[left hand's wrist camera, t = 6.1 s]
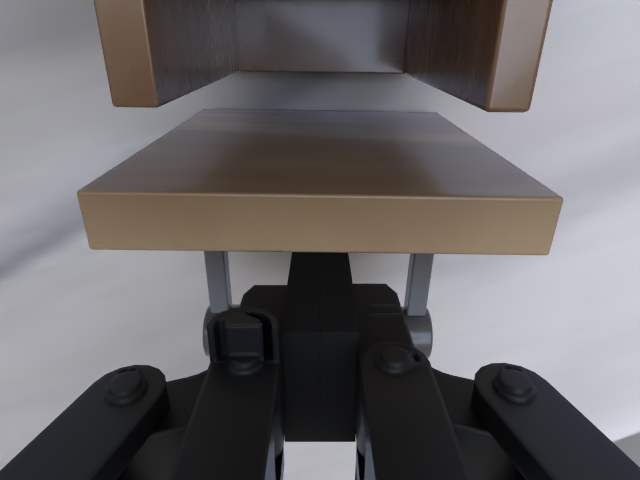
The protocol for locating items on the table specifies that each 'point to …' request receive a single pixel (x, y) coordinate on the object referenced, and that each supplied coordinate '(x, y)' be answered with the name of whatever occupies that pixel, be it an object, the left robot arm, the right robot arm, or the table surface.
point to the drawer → (322, 137)
